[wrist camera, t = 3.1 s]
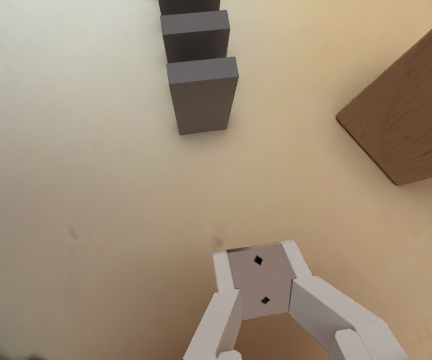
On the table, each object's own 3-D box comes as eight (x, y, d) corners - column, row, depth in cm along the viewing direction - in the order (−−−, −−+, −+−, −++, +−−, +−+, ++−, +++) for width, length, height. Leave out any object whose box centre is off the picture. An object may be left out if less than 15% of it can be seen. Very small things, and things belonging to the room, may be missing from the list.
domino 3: (226, 129, 30) (238, 76, 20) (179, 134, 29) (168, 83, 19) (223, 114, 30) (235, 55, 20) (177, 120, 30) (166, 62, 20)
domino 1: (215, 61, 31) (221, -18, 21) (170, 66, 31) (156, -13, 21) (212, 48, 31) (218, -36, 22) (168, 53, 31) (153, -31, 21)
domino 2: (220, 95, 30) (230, 28, 21) (175, 100, 30) (162, 34, 20) (218, 81, 31) (226, 9, 21) (173, 86, 30) (159, 15, 20)
